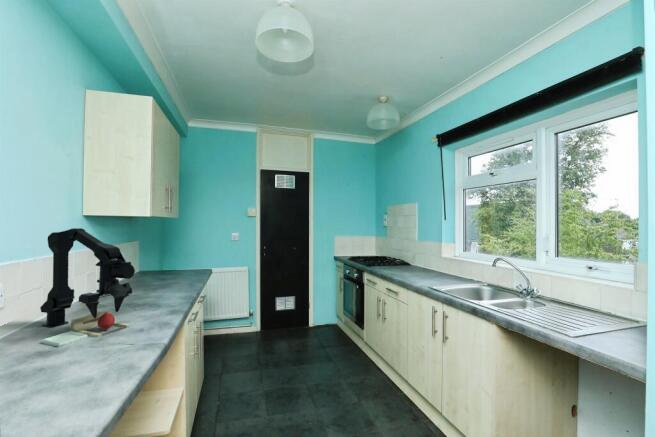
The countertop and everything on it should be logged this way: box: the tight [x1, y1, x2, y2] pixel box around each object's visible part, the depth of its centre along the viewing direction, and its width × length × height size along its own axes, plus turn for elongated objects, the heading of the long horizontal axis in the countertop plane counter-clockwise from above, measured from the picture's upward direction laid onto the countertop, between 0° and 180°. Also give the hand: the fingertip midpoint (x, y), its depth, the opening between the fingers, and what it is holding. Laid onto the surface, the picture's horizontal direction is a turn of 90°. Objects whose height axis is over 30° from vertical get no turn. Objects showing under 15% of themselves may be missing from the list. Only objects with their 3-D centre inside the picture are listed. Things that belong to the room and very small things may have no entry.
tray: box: [41, 330, 88, 348], centre depth 115 cm, size 10×10×1 cm
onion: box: [97, 310, 116, 331], centre depth 127 cm, size 6×6×8 cm
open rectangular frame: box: [70, 310, 130, 338], centre depth 128 cm, size 15×13×5 cm
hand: (106, 314), depth 127 cm, fingers open, 9 cm apart
